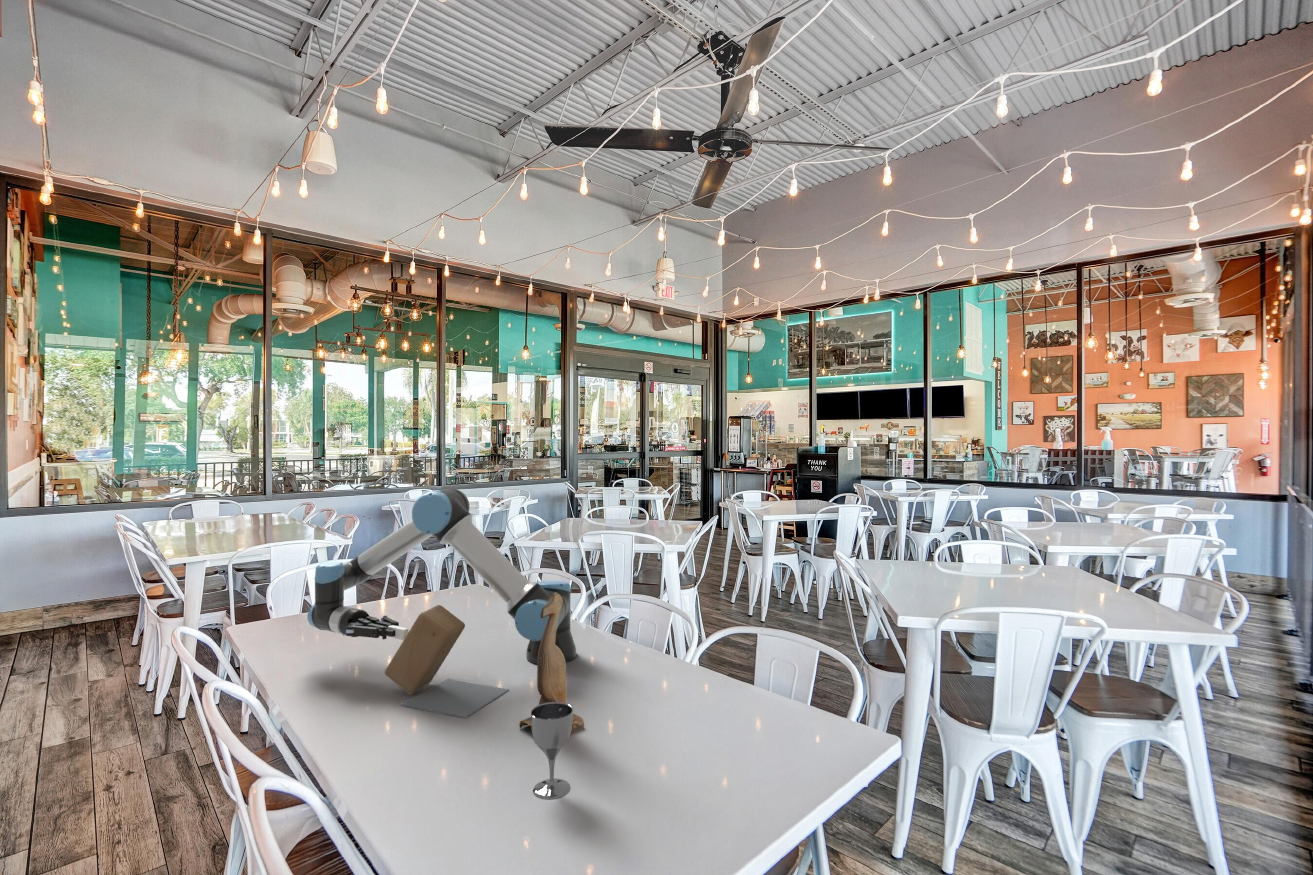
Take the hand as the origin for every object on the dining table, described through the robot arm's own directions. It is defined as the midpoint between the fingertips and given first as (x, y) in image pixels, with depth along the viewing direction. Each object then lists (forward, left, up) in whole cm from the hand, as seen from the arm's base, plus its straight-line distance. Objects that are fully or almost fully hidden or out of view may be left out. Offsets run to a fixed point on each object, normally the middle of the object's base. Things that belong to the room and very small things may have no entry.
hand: (406, 634), depth 168 cm
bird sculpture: (-48, +5, -15) cm, 50 cm away
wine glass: (-61, +27, -15) cm, 68 cm away
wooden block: (0, -1, -12) cm, 12 cm away
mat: (-16, -1, -15) cm, 22 cm away
